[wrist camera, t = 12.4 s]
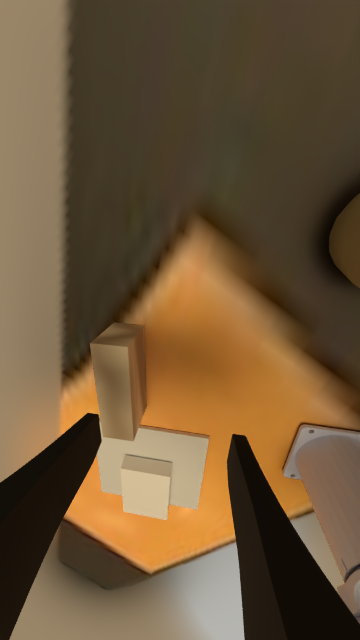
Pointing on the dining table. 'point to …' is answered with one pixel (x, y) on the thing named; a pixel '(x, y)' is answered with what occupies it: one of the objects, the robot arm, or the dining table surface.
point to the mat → (161, 446)
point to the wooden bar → (120, 379)
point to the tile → (146, 486)
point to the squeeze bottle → (347, 241)
